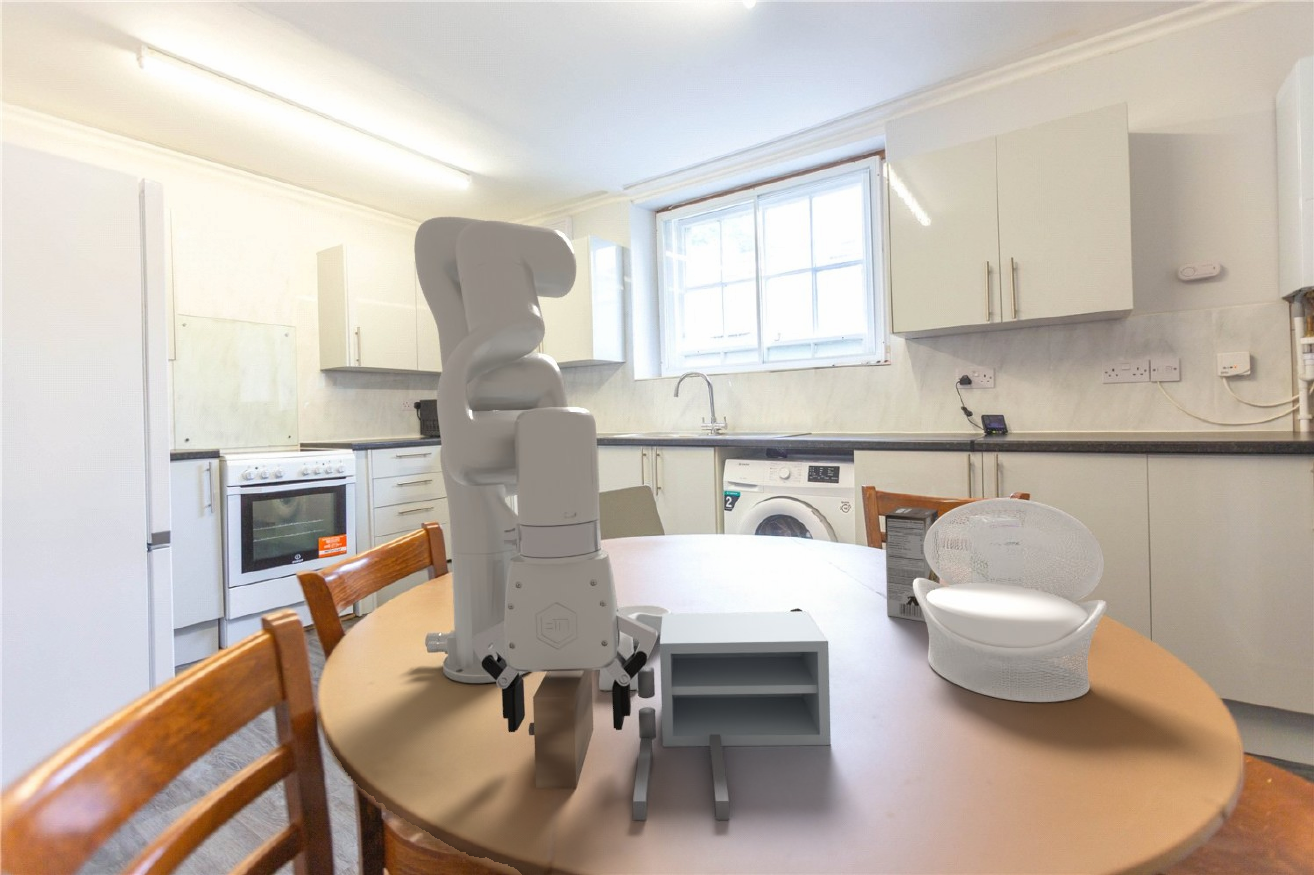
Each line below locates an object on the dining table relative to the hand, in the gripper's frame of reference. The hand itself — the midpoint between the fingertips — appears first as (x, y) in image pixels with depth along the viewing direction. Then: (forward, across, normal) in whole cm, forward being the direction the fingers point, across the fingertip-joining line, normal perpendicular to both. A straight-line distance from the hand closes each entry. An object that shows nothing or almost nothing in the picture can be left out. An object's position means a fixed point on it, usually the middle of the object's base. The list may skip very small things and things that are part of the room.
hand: (568, 724), depth 55 cm
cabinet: (+4, +16, +2) cm, 16 cm away
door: (+4, 0, +1) cm, 4 cm away
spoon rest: (+3, +3, +26) cm, 27 cm away
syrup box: (+4, +61, +44) cm, 76 cm away
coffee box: (+3, +47, +42) cm, 63 cm away
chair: (+4, +50, +19) cm, 53 cm away
